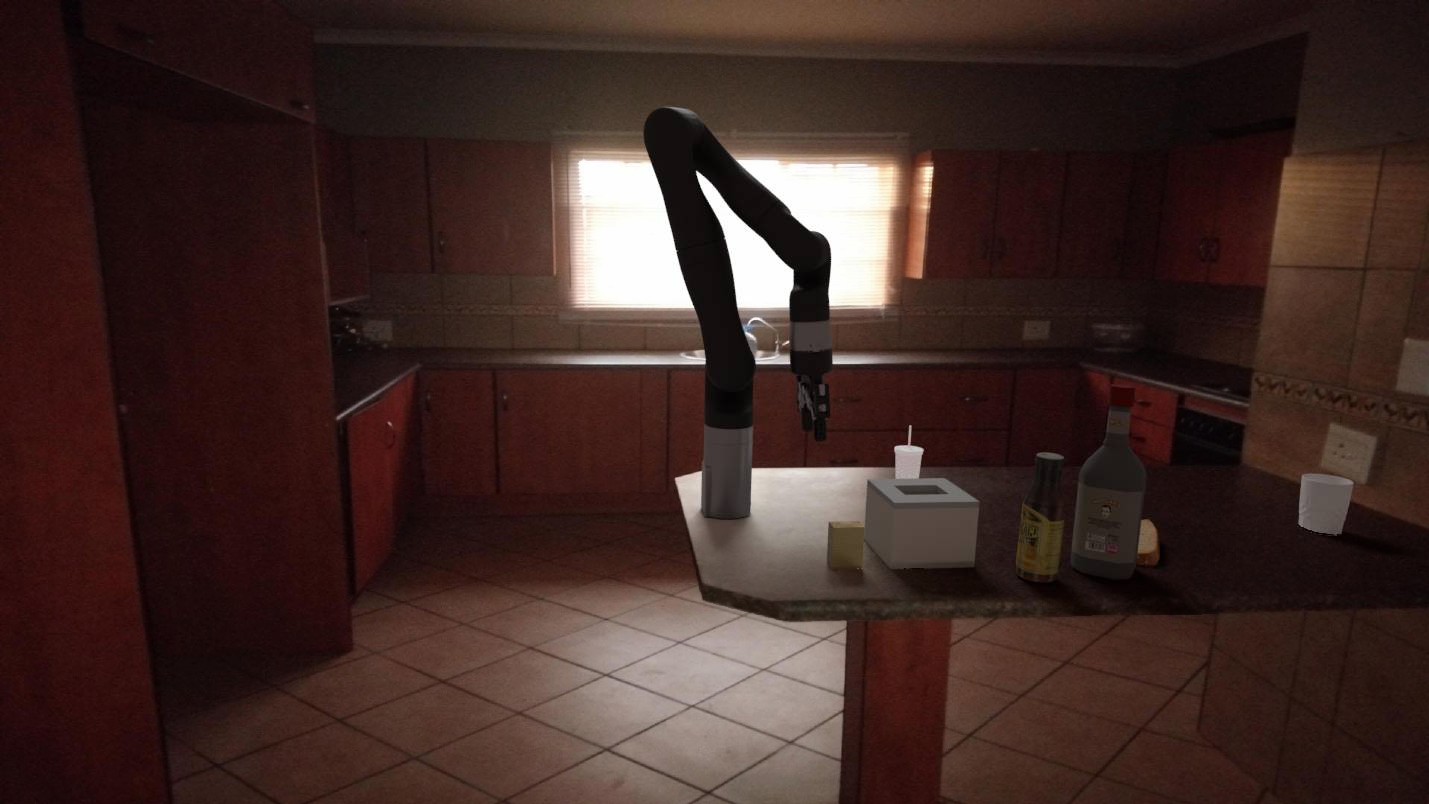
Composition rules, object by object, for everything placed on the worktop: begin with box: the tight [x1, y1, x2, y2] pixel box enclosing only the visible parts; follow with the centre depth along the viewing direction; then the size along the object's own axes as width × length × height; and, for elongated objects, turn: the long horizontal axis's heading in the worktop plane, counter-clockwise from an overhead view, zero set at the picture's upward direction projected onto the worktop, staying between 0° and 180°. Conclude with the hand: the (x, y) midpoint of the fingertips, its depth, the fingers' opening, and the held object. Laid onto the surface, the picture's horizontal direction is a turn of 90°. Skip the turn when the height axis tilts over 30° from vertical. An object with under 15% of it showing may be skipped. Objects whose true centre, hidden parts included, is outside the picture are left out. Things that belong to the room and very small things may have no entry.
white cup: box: [1298, 473, 1354, 536], centre depth 157 cm, size 8×8×10 cm
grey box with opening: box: [864, 477, 980, 570], centre depth 139 cm, size 14×14×11 cm
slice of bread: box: [1136, 518, 1161, 566], centre depth 147 cm, size 18×18×4 cm
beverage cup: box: [894, 424, 925, 479], centre depth 178 cm, size 6×6×14 cm
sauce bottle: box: [1015, 452, 1067, 584], centre depth 129 cm, size 6×6×20 cm
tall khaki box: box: [826, 520, 865, 571], centre depth 133 cm, size 5×3×7 cm, turn 97°
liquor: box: [1069, 383, 1148, 581], centre depth 133 cm, size 9×9×30 cm
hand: (813, 435), depth 150 cm, fingers open, 8 cm apart
